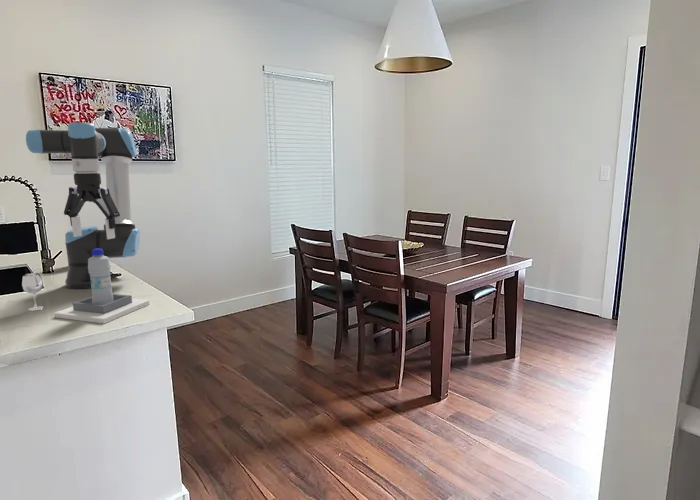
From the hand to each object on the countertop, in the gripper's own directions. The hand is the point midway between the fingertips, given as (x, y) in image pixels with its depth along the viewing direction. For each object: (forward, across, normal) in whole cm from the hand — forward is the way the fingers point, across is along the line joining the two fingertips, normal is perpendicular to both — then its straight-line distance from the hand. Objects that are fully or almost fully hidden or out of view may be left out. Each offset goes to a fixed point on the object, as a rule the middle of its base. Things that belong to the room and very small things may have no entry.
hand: (94, 237), depth 150 cm
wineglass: (+25, -22, -6) cm, 34 cm away
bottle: (+24, +2, -1) cm, 24 cm away
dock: (+25, +2, -1) cm, 25 cm away
